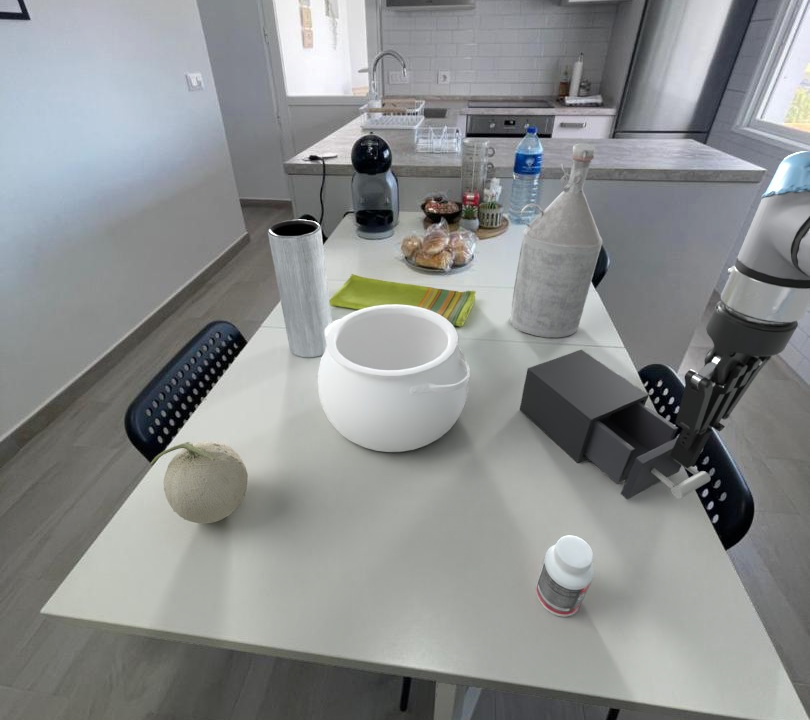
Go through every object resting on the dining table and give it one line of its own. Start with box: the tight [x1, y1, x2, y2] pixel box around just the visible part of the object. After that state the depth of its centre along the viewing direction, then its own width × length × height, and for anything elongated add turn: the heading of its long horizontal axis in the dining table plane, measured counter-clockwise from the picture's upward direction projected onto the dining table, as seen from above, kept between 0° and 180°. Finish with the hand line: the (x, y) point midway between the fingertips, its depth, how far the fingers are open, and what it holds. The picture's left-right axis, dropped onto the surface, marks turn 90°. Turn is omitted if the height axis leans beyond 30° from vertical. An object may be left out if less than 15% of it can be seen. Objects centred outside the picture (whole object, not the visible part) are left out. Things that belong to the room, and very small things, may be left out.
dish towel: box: [329, 273, 477, 328], centre depth 116 cm, size 15×36×3 cm, turn 71°
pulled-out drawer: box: [583, 402, 711, 500], centre depth 68 cm, size 18×11×8 cm, turn 27°
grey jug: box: [509, 143, 603, 339], centre depth 96 cm, size 13×17×40 cm
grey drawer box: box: [519, 349, 650, 464], centre depth 77 cm, size 15×13×10 cm
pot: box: [317, 305, 471, 453], centre depth 78 cm, size 29×26×16 cm
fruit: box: [149, 441, 249, 524], centre depth 62 cm, size 10×12×15 cm
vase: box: [267, 219, 333, 358], centre depth 93 cm, size 10×10×27 cm
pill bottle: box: [535, 534, 595, 618], centre depth 52 cm, size 5×5×10 cm
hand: (681, 459), depth 62 cm, fingers closed
